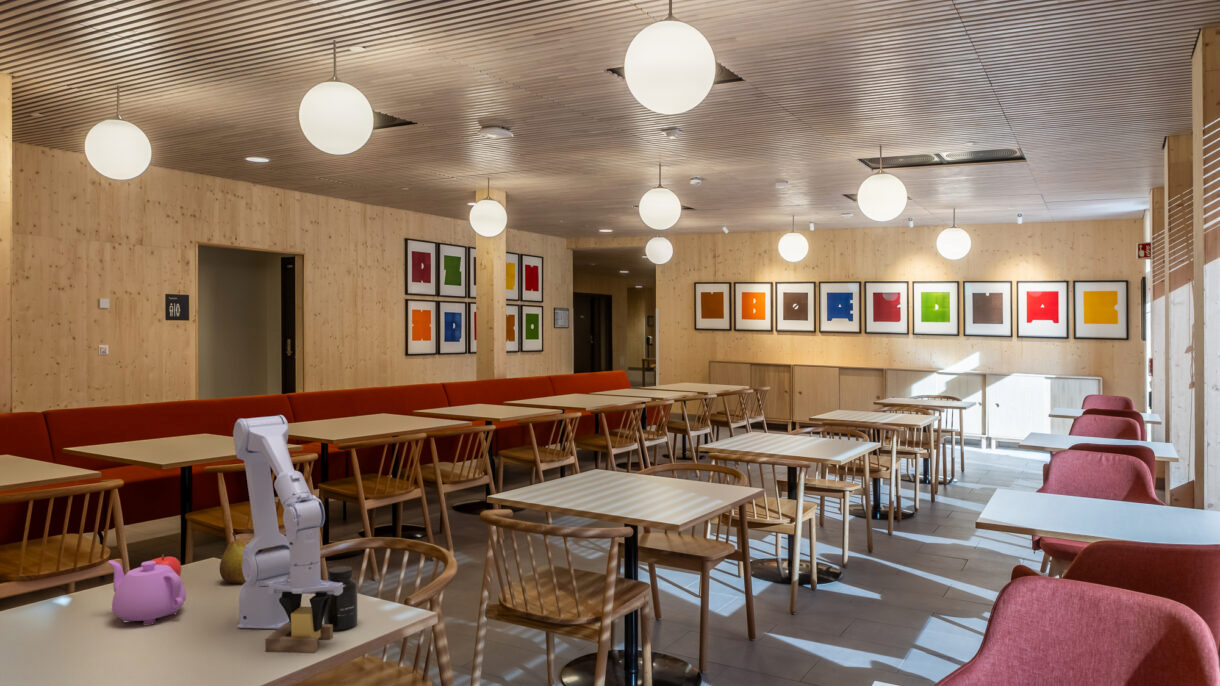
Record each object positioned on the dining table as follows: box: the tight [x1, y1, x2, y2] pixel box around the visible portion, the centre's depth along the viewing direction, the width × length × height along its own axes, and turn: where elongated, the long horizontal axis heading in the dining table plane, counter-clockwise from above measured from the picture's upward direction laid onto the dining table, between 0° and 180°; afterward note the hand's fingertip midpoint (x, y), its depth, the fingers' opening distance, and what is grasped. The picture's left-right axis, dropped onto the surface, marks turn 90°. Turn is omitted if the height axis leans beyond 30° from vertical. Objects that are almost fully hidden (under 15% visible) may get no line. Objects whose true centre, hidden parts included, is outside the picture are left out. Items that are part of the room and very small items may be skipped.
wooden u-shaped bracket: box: [264, 623, 334, 654], centre depth 161 cm, size 10×8×2 cm
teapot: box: [108, 559, 187, 625], centre depth 178 cm, size 20×14×12 cm
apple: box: [151, 553, 182, 578], centre depth 199 cm, size 8×8×8 cm
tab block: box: [291, 606, 321, 640], centre depth 160 cm, size 4×4×6 cm
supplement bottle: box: [323, 565, 359, 632], centre depth 170 cm, size 7×7×12 cm
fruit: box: [219, 532, 248, 585], centre depth 202 cm, size 9×9×12 cm
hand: (306, 629), depth 161 cm, fingers closed on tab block, 4 cm apart
